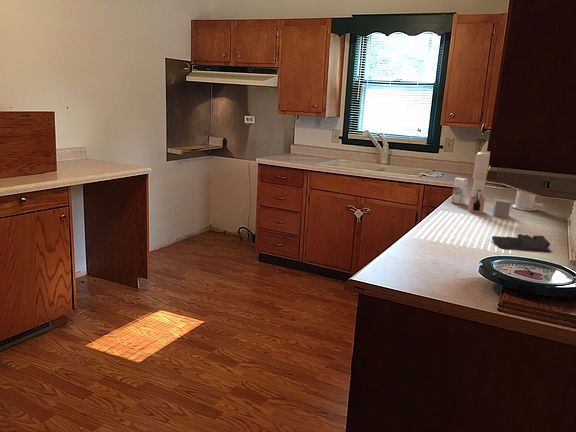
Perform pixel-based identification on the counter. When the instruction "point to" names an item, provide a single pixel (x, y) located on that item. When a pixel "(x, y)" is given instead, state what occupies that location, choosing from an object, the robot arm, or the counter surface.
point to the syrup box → (459, 190)
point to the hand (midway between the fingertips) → (475, 208)
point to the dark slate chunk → (523, 243)
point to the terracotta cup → (471, 204)
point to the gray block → (501, 208)
